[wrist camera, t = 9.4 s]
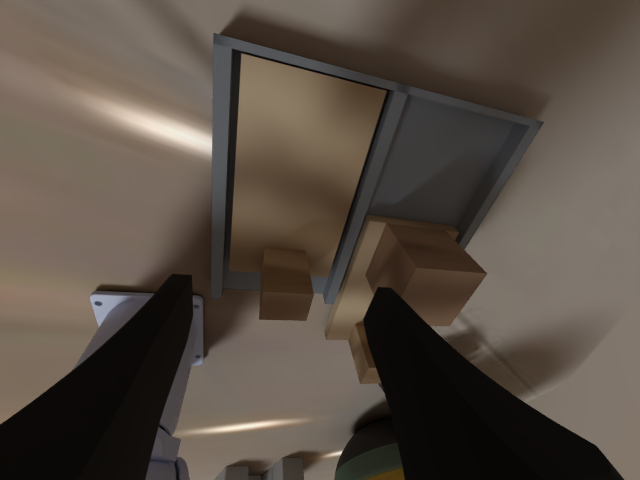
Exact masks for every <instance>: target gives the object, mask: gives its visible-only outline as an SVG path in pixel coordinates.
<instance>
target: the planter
mask: <svg viewBox="0 0 640 480" xmlns="http://www.w3.org/2000/svg"><path fill="white" fill-rule="evenodd" d="M334 480H405V477H404V472H403V467H402V462H401V457H400V452H399V448H398V443H397V438H396V434H395V430H394V426H393V421H392V419H387V420H381V421H377V422H374V423H372V424H369V425H367V426H366V427H364V428H362V429H361V430H359V431H358V432H357V433H356V434H355V435H354V436H353V437H352V438H351V439H350V441H349V442H348V443H347V445H346V447H345V448H344V450H343V452H342V454H341V456H340V459H339V461H338V464H337V468H336V472H335V479H334Z"/></svg>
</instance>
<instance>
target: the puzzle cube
mask: <svg viewBox="0 0 640 480" xmlns="http://www.w3.org/2000/svg"><path fill="white" fill-rule="evenodd" d="M248 470H249V467H241V466H226V467H225V468H224V469H223V470H222V472H221V473H220V474H219V475H218V476H217V477H216V478H215V479H214V480H304V473H303V461H302V458H285V457H283V458H281V459H280V460H279V461H278V462H277V463H276V464H275V465H274V466H273V467H271V468H270V469H269V470H268V471H267V472H266V473H265V474H264V475H263V476H262V477H261V476H248Z"/></svg>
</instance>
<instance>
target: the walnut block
mask: <svg viewBox="0 0 640 480" xmlns="http://www.w3.org/2000/svg"><path fill="white" fill-rule="evenodd" d="M486 275H487V273H486V272H485V271H484V270H483V269H482V268H481V267H480V266H479V265H478V264H477V263H476V262H475V261H474V260H473V259H472V258H471V256H470V255H469V254H468V253H467V252H466V251H465V250H464V249H463V248H462V247H461V246H460V245H459V244H458V243H457V242H456V241H455V240H454V239H453V238H452V237H451V236H450V235H449V234H448V233H447V232H446V231H445V230H437V229H429V228H421V227H413V226H405V225H397V224H389V223H386V225H385V228H384V230H383V233H382V235H381V238H380V240H379V242H378V245H377V247H376V250H375V252H374V255H373V257H372V260H371V262H370V265H369V267H368V269H367V272H366V274H365V276H366V278H367V280H368V283H369V285H370V287H371V290H372V292H373V295H374V294H375V292H376V290H377V288H378V287H390V288H392V289H393V290H394V291H395V292H396V293H397V294H398V295H399V296H400V297H401V298H402V299H403V300H404V301H405V302H406V303H407V304H408V305H409V306H410V307H411V308H412V309H413V310H414V311H415V312H416V313H417V314H418V315H419V316H420V317H421V318H422V319H423V320H424V321H425V322H426V323H427V324H428V325H429V326H450V325H451V323H452V322H453V321H454V319H455V318H456V316H457V315H458V314H459V312H460V311H461V310H462V308H463V307H464V305H465V304H466V303H467V301H468V300H469V298H470V297H471V296H472V294H473V293H474V291H475V290H476V289H477V287H478V286H479V285H480V283H481V282H482V280H483V279H484V278H485V276H486Z"/></svg>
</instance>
